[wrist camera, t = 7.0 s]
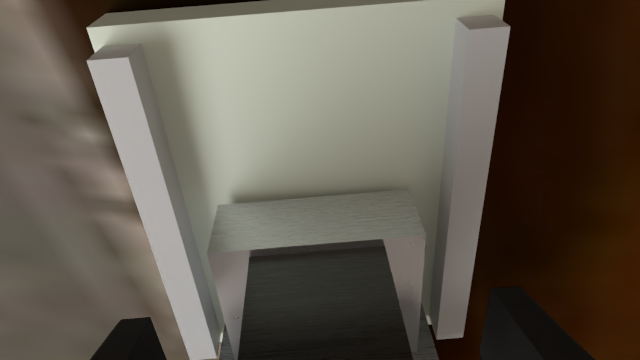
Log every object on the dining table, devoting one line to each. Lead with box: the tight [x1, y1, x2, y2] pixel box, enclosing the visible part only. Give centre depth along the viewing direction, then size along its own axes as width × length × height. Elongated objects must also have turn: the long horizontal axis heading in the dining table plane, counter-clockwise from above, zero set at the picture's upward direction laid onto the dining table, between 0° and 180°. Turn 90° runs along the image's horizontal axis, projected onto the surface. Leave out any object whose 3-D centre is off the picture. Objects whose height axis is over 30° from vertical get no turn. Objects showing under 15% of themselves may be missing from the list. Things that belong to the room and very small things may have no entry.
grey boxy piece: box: [207, 189, 439, 360], centre depth 11 cm, size 5×6×6 cm
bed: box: [87, 0, 511, 360], centre depth 12 cm, size 10×9×2 cm
